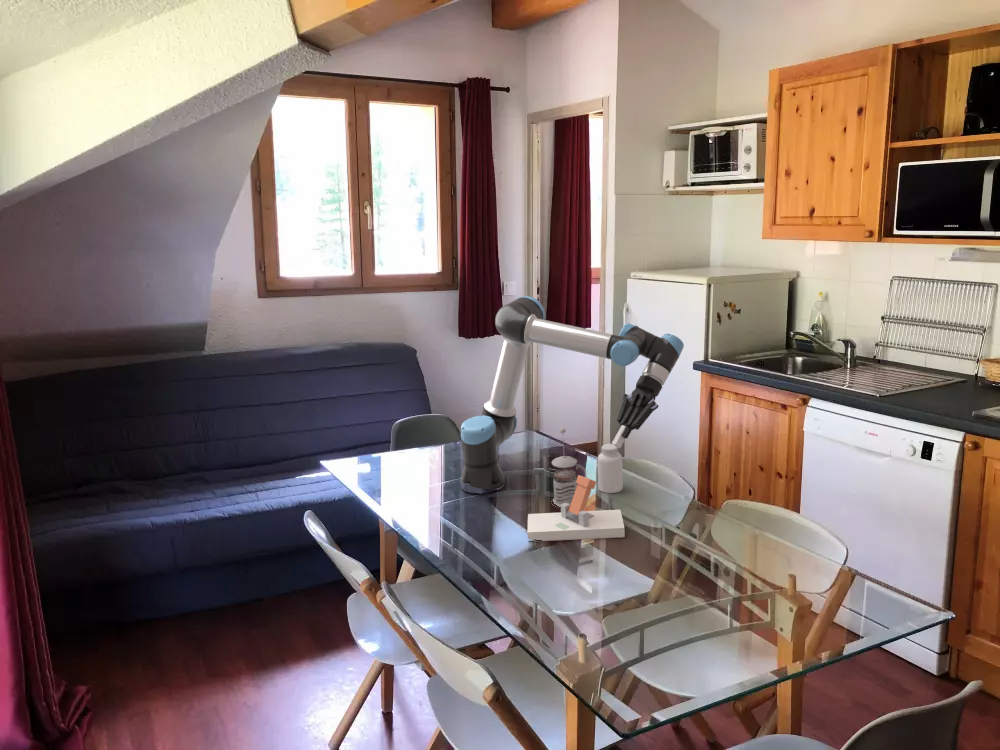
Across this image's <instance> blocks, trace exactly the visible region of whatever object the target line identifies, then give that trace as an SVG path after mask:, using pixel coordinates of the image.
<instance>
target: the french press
mask: <svg viewBox="0 0 1000 750" xmlns="http://www.w3.org/2000/svg"><path fill="white" fill-rule="evenodd" d="M559 433H561V434H562V435H564V433H566V429H565V428H564V427H561V428H560V429H559ZM564 444H565V442H564V440H562V451H563V453H565V447H564V446H565V445H564ZM577 463H578V460H577V459H576V458H574V457H572V456H568V455H567V456H566V455H561V456H558V457H555V458H554V459H552V461H551V465H552V466H553V467H555V468H558V470H556V471H555V472H554V473H553V479H552V480H553V496H554V497H553V499H552V500H553V502H554V504H556V505H557V506H559V507H561V504H563V503H565V502H566V503H568V504H570V505H571V502H572V499H573V496H574V494H575V491H576V488H577V485H578V483H576V480H577V477H578V475H577V472H576V471H575V470H574V469H569V468H572V467H574V466H575V467H576V470H578V468H580V469H581V470H582V471H583V472H584V475H585V476H584V477H586V478H588V477H587V470H586V469H585V467H584V466H583V465H581V464H577ZM565 481H566V482H565ZM559 507H558V508H559Z"/></svg>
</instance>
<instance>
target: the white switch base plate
mask: <svg viewBox="0 0 1000 750" xmlns="http://www.w3.org/2000/svg"><path fill="white" fill-rule="evenodd" d="M569 508H570V504H568V503H566V502H565V503H563V504H561V508H560V512H545V513H542V512H541V513H528V514H527V539H528V538H529V539H536V540H542V541H541V542H549V541H550V542H551V541H553V542H554V541H571V540H575V541H576V540H593V539H612V538H613V539H614V538H615V539H616V538H626V537H625V535H626V534H625V533H626V532H625V531H626V530H625V524H624V519H623V516H622V511H621V509H604V510H587V511H586V510H583V511H581V512H578V515H579V522H577V521H575V520H573V519H571V518H569V517H567V516H566V512H567V510H569Z"/></svg>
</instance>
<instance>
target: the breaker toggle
mask: <svg viewBox="0 0 1000 750" xmlns="http://www.w3.org/2000/svg"><path fill="white" fill-rule="evenodd" d="M586 477H587V476H586ZM586 477H585V476H583V475H578V474H577V480H576V483H578V485H577V488H576V491H575V494H574V496H573V499H572V502H571V505H570V508H569V510H567V512H566V516H567V517H569V518H571V519H573V520H575V521H577V522H579V515H578V512H581V511H583V510H584V511H586V510H585V509H586V506H587V503H588V501H589V498H590V495H591V492H592V490H595V488H596V485H597V481H596V480H594V479H592V478H588V477H587V478H586Z"/></svg>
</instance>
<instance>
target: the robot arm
mask: <svg viewBox="0 0 1000 750" xmlns="http://www.w3.org/2000/svg"><path fill="white" fill-rule="evenodd" d="M545 318H546V312H545V308H544V306H543V304H542V303H541V302H540V301H539V300H538V299H537V298H535V297H532V296H529V295H527V296H524V295H523V296H520V297H517V298H516V299H514V300H512V301H511V302H509V303H506V304H504V305H503V306H502V307H500V308H499V310H498V311H497V313H496V315H495V319H494V323H495V328H496V331H498V333H499V334H500V335H501V337H503V343H502V348H501V351H500V354H499V355H500V356H499V360H498V363H497V368H496V371H495V376H494V380H493V386H492V388H491V393H490V398H489V399H488V400H487V401H485V402H484V404H483V408H482V410H481V411H482V412H481V414H480V415H475V416H473V417H469V418H467V419H466V420H464V421H463V422H462V423H461V426H460V439H461V448H462V459H463V469H462V473H461V478H460V482H461V481H462V482H464V483H469V484H470V486H472V487H476V488H482V489H495V488H500V487H502V486H503V485H504V484H505V485H506V479H505V478H506V477H505V476H504V473H503V471H502V469H501V465H500V464H499V459H498V457H499V456H498V447H500V446H501V445H502V444H503V443H504V442H506V441H507V440H508V439H509V438H511V436H513V435H514V432H515V431H516V428H517V426H518V420H517V409H516V407H515V406H514V405H515V401H516V398H517V393H518V389H519V386H520V382H521V379H522V378H521V377H522V374H523V370H524V366H525V364H526V363H525V362H526V358H527V353H528V350H529V347H530V345H531V344H533V343H535V344H540V345H544V346H548V347H553V348H558V349H561V350H562V349H563V350H566V351H572V352H576V353H580V354H584V355H590V356H593V357H594V356H595V357H599V358H604V359H608V360H612V362H614V364H616V365H618V366H619V367H626V366H629V365H631V364H632V363H634V362H636V361H637V359H638V357H639V356H642V357H644V358H645V359H648V361H647V363H646V366H645V367H644V368H643V370H642V373H641V375H640V376H639V378H638V379H637V381H636V382H635V383H636V384H635V388H634V390H632V392H631V393H629V394H627V393H624V394H623V399H622V400H623V401H622V403H621V405H620V406H621V407H620V410H619V412H618V416H617V419H616V421H617V423H618V424H619V426H618V428H617V429H616V432H615V437H614V438H613V440H612V442H611V444H613V445H614V446H616V447H617V448H618V449H621V448H622V446H623V444H624V442H625V440H626V439H628V438H629V436H630V434H631V433H632V431H633V430H640V428H641V427H642V426H643V424H644V423H645V422H646V420H647V419H648V418H649V417H650V416H651V414H652V413H653V412H655V411H656V410H657V409H659V405H658V404H657V402H656V397H658V396H659V395H660V392H661V390H662V389H663V386H664V385H665V384H666V382H667V379H668V377H669V376H670V374H671V372H672V370H673V368H674V367H675V366H676V363H677V362H678V360H679V359H680V356H681V353H682V352H683V349H684V347H685V345H684V342H683V340H682V339H681V338H679V337H678V336H677V335H674V334H671V333H664V334H663V335H662V336H661V337H660V336H657V335H655V334H653V333H651V332H649V331H647V330H645V329H643V328H641V327H639V326H638V325H636V324H635V325H634V324H632V323H630V322H627V323H625V324H624V325H623V327H622V328H621V330H620V331H619V333H618V335H616V334H612V333H607V332H602V331H599V330H593V329H589V328H585V327H579V326H575V325H571V324H565V323H560V322H556V321H551V320H547V319H545ZM505 485H504V486H505Z"/></svg>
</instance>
